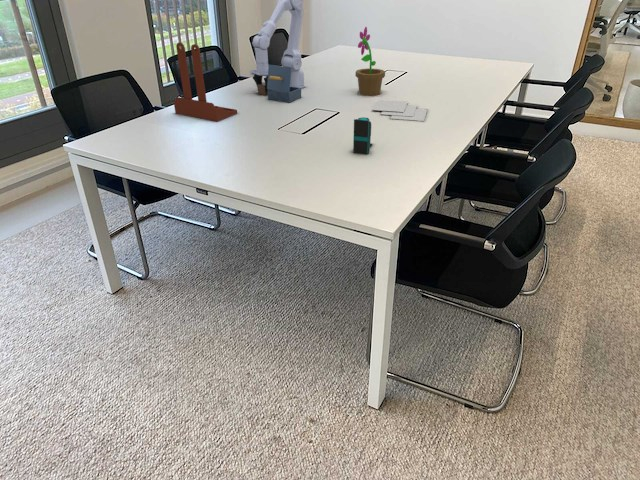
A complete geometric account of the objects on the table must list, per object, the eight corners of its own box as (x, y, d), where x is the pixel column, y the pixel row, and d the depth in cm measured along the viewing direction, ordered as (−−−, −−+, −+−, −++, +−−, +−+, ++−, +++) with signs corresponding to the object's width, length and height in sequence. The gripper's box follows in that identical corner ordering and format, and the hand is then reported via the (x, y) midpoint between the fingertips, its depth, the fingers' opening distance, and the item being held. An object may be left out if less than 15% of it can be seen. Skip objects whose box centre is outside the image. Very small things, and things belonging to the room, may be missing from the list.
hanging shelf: (237, 113, 217) (230, 41, 202) (217, 121, 207) (208, 46, 192) (196, 106, 228) (186, 36, 212) (175, 113, 218) (163, 41, 203)
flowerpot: (363, 88, 252) (365, 24, 236) (388, 91, 245) (392, 26, 230) (349, 94, 241) (351, 28, 226) (376, 98, 235) (379, 30, 219)
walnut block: (263, 92, 247) (262, 82, 244) (270, 93, 245) (269, 83, 243) (258, 94, 244) (257, 84, 241) (265, 95, 242) (264, 85, 239)
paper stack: (429, 104, 225) (429, 102, 225) (423, 121, 204) (423, 119, 204) (378, 101, 231) (378, 99, 230) (368, 117, 210) (368, 115, 210)
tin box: (280, 94, 244) (279, 85, 241) (301, 97, 238) (301, 87, 236) (267, 99, 236) (267, 89, 234) (289, 102, 231) (289, 93, 228)
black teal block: (376, 112, 175) (369, 121, 167) (375, 144, 182) (368, 154, 174) (361, 111, 177) (353, 119, 169) (360, 143, 183) (352, 152, 175)
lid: (269, 64, 230) (264, 64, 227) (291, 67, 225) (286, 66, 221) (267, 89, 234) (262, 89, 230) (289, 92, 228) (284, 92, 225)
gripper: (244, 62, 237) (247, 91, 244) (269, 65, 231) (271, 94, 238) (253, 59, 242) (256, 87, 249) (278, 62, 236) (279, 91, 243)
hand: (264, 91), depth 244 cm, fingers closed on walnut block, 4 cm apart
